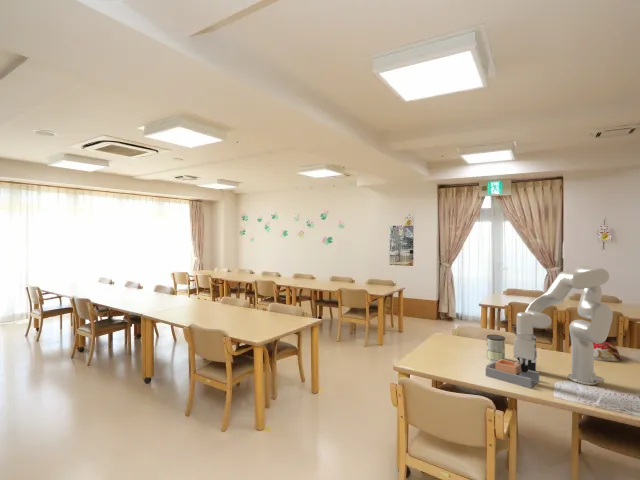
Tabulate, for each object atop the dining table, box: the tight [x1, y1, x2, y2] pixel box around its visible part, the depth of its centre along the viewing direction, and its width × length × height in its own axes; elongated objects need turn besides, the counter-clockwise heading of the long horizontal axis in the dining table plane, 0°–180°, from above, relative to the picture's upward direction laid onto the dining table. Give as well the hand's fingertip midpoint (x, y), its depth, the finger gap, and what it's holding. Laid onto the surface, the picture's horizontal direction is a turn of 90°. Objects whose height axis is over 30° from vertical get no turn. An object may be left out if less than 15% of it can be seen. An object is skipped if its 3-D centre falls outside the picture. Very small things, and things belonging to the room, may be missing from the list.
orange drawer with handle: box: [495, 359, 521, 375], centre depth 189 cm, size 10×8×8 cm
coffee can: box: [486, 334, 506, 362], centre depth 218 cm, size 10×10×14 cm
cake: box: [592, 341, 625, 362], centre depth 224 cm, size 23×24×10 cm
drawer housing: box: [485, 361, 540, 389], centre depth 189 cm, size 22×13×6 cm, turn 42°
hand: (524, 371), depth 184 cm, fingers closed
